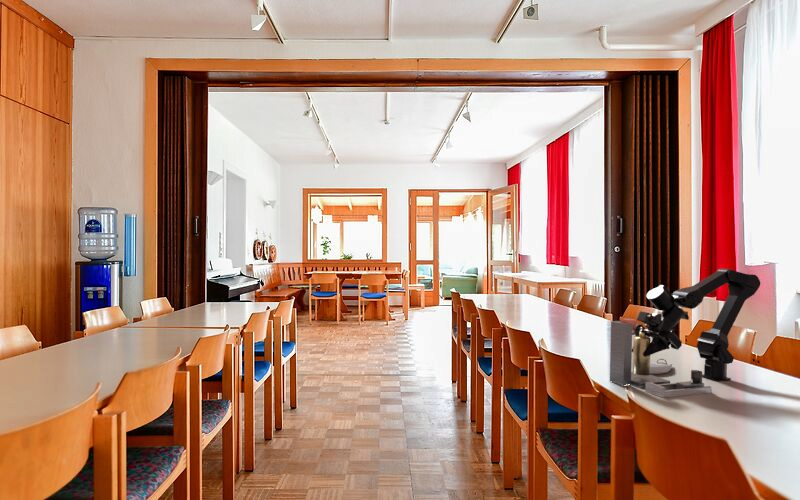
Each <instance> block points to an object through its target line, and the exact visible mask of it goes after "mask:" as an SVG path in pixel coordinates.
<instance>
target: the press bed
mask: <svg viewBox="0 0 800 500" xmlns="http://www.w3.org/2000/svg"><path fill="white" fill-rule="evenodd" d="M636 323H637V319H633V318H630V317H629V318H627V317H625V318H620V320H613V321H612V320H611V321H610V350H609V351H610V353H609V354H610V355H609V358H610V359H609V382H610V381H612V382H611V383H613V382H614V383H613V384H615V383H617V384H616V385H618V384H620V385H623V386H624V385H626V384H630V386H629V387H631V386H633V387H636V388H639V389H645V384H646V382H651V383H654V384H668V383H671V380H668V379H665V378H662V377H658V376H657V375H656V376H655V375H654V374H650V375H647V376H644V375H637V374H634V373H633V371H632V360H633V359H632V357H633V356H632V354H633V352H632V348H633V336H635V334H634V333H635V329H636ZM620 385H619V386H620ZM623 386H622V387H623Z"/></svg>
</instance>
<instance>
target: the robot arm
mask: <svg viewBox="0 0 800 500" xmlns="http://www.w3.org/2000/svg"><path fill="white" fill-rule="evenodd" d="M726 284H728V285H727V288H728V289H727V290H728V295H727V297H726V300H725V301H724V304H723V305H722V308H721V310H720V312H719V313H718V316H716V317H717V318H716V319H715V321H714V323H713V325H712V327H711V329H710V330H708V331H706V330H702V331H701V332H700V335H699V337H698V339H696V341H697V343H696V348H697V351H698V354H699V357H700V358H701V359H704V365H703V366H704V368H703V369H704V370H703V373H704V374H703V373H702V378H706V379H708V380H713V381H716V382H720V381H721V382H722V381H731V380H732V378H731V377H727V376H728V375H727V369H728V365H729V364H732V363H733V361H734V358H735V357H734V355H732V353H731V352H730V351H729V350H728V348H729V344H730V343H729V338H728V336H729V333H730V332H731V330H732V327H733V326H734V323H735V322H736V319H737V318H738V315H739V314H740V311H741V309H742V307H743V306H744V304H745V302H746V301H747V300H748V299H749V298H751V297H753V296H754V295H755V294H756V292H757V291H758V289H759V288H760V286H761V281H760V278H759V277H758V275H756V274H750V273H744V272H741V271H740V272H739V271H737V270H735V269H732V268H719V269H717V270H716V272H714V273H712V274H710V275H709V276H707V277H705V278H704V279H702V280H701V281H698V282H697V283H696V284H694V285H691V286H686V287H683V288H679V289H677V290H675V291H673V293H671V292H670V291H669V289H668V288H667V286H666V285H663V284H659V285H658V286H657V287H655V288H652V289H650V290H649V291H648V292H647V293H646V298H647V299H648V300H649V302H650V303H651V304H652V305H653V306H654V307H655V309H656V310H658V311H661V312H660V313H659V312H653V313H649V312H646V311H641V310H640V311H639V313H638V314H637V318H636V321H637V322H641V323H643V324H644V325H643V324H641V323H637V322H636V329H635V333H634V336H639V333H645V337H649V338H652V339H651V341H650V345H649V346H648V347H647V349H646V350H645V351H644V353H643V356H644V357H646V356H649V355H650V356H651V355H654V354H656V353H659V352H661V351H665V350H670V348H671V349H673V350H677V351H678V350H679V349H680V348H681V347H682V345H683V343H682V340H681V339H680V337H678V335H677V334H676V333H675V331H676V330H677V328H676V326H677V324H678V323H679V322H680V320H686V321H688V320H690V316H689V311H688V310H687V311H686V310H684V309H690V310H693V309H696V308H698V306H699V305H700V304H702V302H703V300H704V297H706V296H707V295H709V294H711V293H712V292H714V291H716V290H717V289H719V288H721V287H722V286H724V285H726ZM683 308H684V309H683ZM632 353H633V347H632Z"/></svg>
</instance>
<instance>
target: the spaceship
mask: <svg viewBox="0 0 800 500" xmlns="http://www.w3.org/2000/svg"><path fill="white" fill-rule="evenodd" d="M659 361H660V362H659ZM663 361H664V362H663ZM672 368H673V363H668V362H667V359H664V358H659V359H657V361H656V362H654V363H650V375H659V374H660V375H661V374H666V373H668V372H669V371H672Z"/></svg>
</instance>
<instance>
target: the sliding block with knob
mask: <svg viewBox="0 0 800 500" xmlns="http://www.w3.org/2000/svg"><path fill="white" fill-rule="evenodd" d="M702 374H703V371H702V370H699V369H698V370H697V369H692V370H690V380H689V381H680V382H679V381H678V382H677V381H676V382H675V383H676V389H686V388H696V387H705V383H704V382H703V377H702ZM676 389H675V390H676Z"/></svg>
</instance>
